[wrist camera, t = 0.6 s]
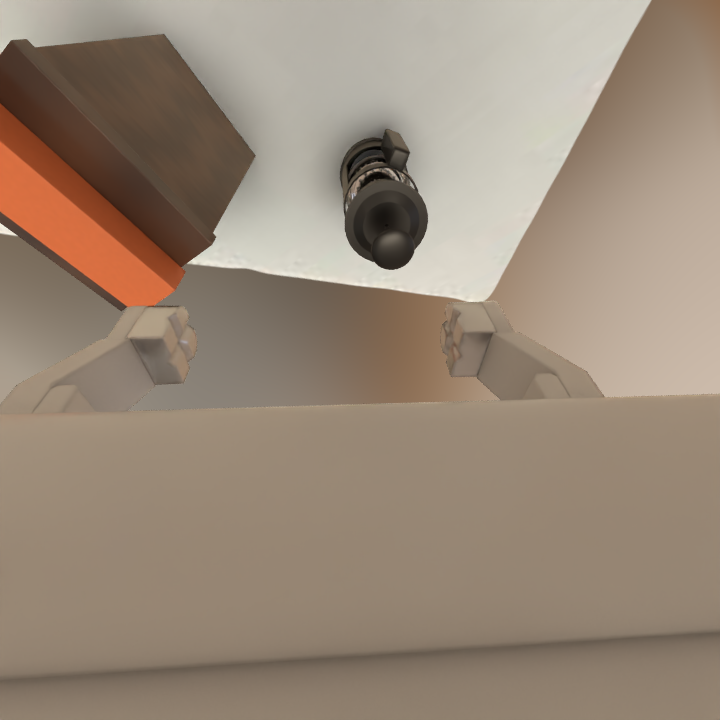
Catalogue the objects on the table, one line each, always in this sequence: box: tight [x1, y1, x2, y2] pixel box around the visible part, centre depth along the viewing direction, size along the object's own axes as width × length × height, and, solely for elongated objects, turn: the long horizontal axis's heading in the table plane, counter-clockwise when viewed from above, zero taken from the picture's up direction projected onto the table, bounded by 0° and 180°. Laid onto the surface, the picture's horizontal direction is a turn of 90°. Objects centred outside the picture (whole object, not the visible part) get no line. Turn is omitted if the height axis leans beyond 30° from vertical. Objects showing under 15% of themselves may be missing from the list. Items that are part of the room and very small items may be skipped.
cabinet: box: [0, 34, 255, 311], centre depth 37 cm, size 15×13×26 cm
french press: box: [340, 129, 428, 270], centre depth 43 cm, size 12×9×23 cm
